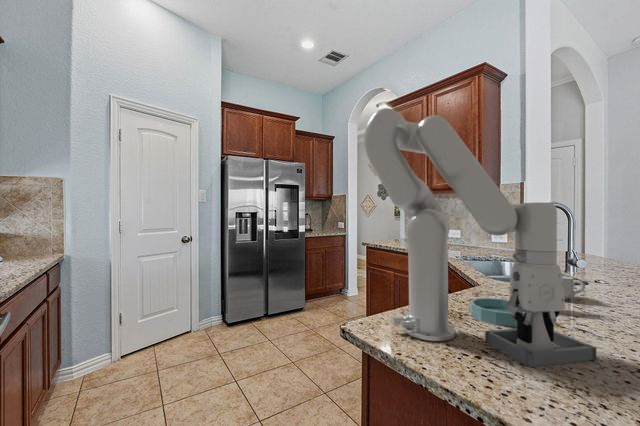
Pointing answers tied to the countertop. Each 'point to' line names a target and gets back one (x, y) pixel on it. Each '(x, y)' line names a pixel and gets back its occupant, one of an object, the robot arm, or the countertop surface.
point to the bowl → (492, 311)
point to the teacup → (571, 286)
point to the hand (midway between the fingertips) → (535, 339)
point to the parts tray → (568, 354)
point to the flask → (537, 335)
